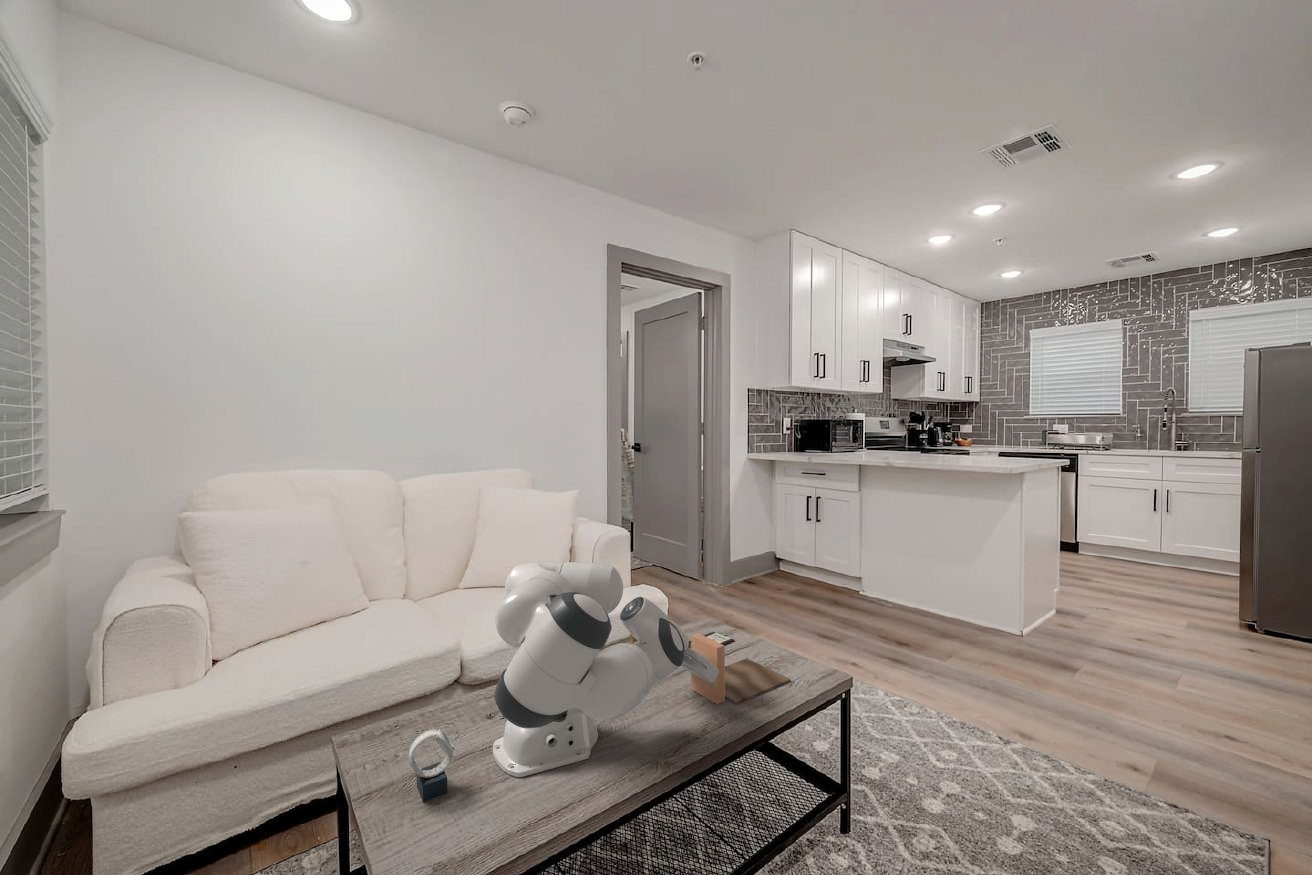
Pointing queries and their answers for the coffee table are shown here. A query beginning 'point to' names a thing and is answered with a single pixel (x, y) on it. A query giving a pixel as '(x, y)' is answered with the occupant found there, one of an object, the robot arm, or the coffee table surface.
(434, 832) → the coffee table surface
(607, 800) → the coffee table surface
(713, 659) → the terracotta tile
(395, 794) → the coffee table surface
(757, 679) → the walnut board
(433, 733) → the watch
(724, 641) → the chocolate bar
